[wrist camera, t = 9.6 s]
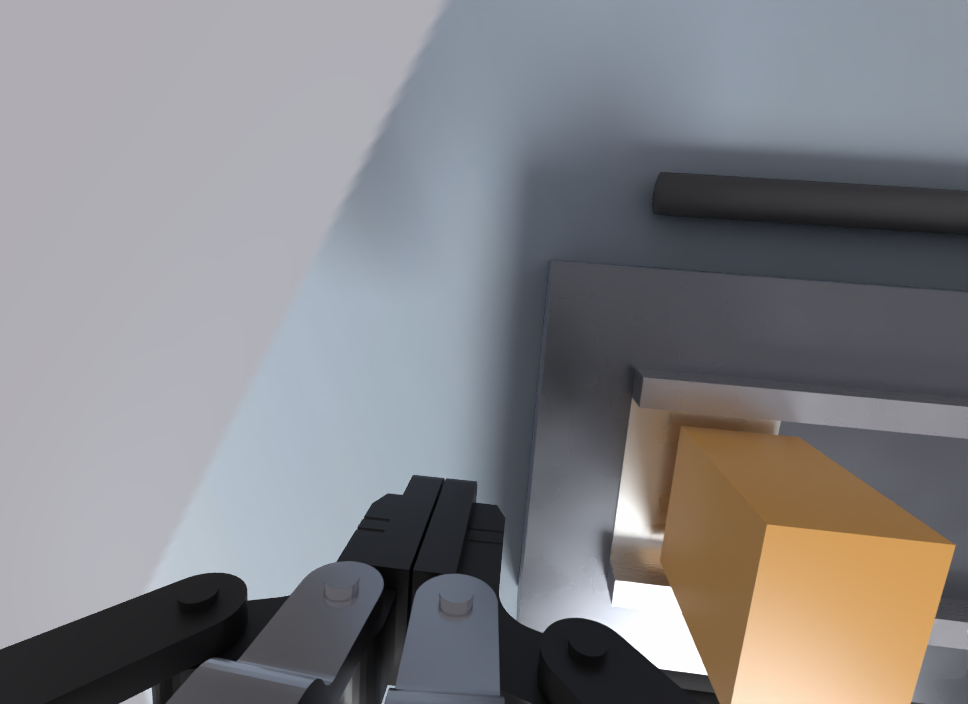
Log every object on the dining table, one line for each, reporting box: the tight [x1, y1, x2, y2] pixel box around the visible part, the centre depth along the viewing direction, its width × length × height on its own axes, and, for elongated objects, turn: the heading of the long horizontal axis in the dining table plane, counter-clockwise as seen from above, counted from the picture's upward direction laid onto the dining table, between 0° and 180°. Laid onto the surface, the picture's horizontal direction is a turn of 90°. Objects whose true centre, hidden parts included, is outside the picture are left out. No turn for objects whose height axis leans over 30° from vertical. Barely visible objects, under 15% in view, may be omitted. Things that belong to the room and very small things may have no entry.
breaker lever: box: [660, 426, 956, 704], centre depth 11 cm, size 3×4×5 cm
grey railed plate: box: [652, 172, 968, 704], centre depth 16 cm, size 18×19×1 cm
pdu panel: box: [517, 260, 968, 704], centre depth 15 cm, size 20×12×4 cm, turn 86°
